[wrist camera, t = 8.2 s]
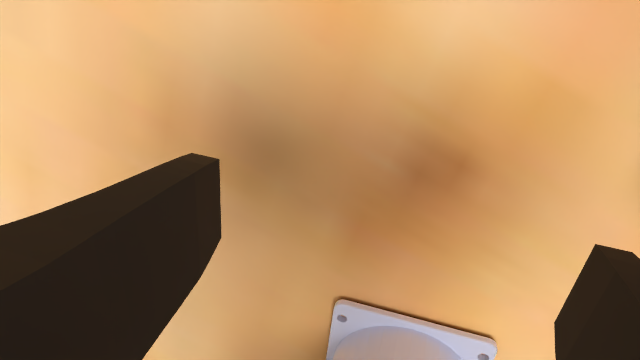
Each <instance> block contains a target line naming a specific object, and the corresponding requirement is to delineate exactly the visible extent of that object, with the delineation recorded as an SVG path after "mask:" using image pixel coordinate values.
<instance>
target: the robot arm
mask: <svg viewBox="0 0 640 360" xmlns="http://www.w3.org/2000/svg"><path fill="white" fill-rule="evenodd" d="M220 239H221V207H220V169H219V159H216V158H212V157H207V156H203V155H198V154H194V153H191V154H187V155H184V156H181V157H179V158H176V159H174V160H171V161H168V162H166V163H164V164H161V165H159V166H156V167H154V168H152V169H149V170H147V171H145V172H142V173H140V174H138V175H135V176H133V177H130V178H128V179H126V180H123V181H121V182H118V183H116V184H114V185H111V186H109V187H107V188H104V189H102V190H99V191H97V192H94V193H92V194H89V195H86V196H84V197H81V198H78V199H76V200H73V201H70V202H68V203H65V204H63V205H60V206H57V207H55V208H52V209H49V210H47V211H44V212H41V213H38V214H35V215H32V216H30V217H27V218H23V219H20V220H17V221H14V222H11V223H8V224H5V225H1V226H0V360H142V359H143V358H144V356H145V355H146V353H147V352H148V351H149V349H150V348H151V346H152V345H153V344H154V342H155V341H156V339H157V338H158V337H159V335H160V334H161V332H162V331H163V330H164V328H165V327H166V325H167V324H168V323H169V321H170V320H171V319H172V317H173V316H174V314H175V313H176V312H177V310H178V309H179V307H180V306H181V305H182V303H183V302H184V300H185V299H186V297H187V296H188V295H189V293H190V292H191V290H192V289H193V287H194V286H195V285H196V283H197V282H198V280H199V279H200V277H201V275H202V274H203V272H204V270H205V268H206V266H207V264H208V263H209V261H210V259H211V257H212V255H213V253H214V251H215V249H216V247H217V245H218V243H219V241H220ZM341 315H344V316H345V317H343V316H341ZM554 324H555V355H556V360H640V259H639V258H638V257H637V256H636V255H635V254H634V253H633V252H628V251H624V250H619V249H615V248H611V247H606V246H602V245H597V244H595V246H594V248H593V250H592V252H591V254H590V255H589V257H588V259H587V261H586V263H585V265H584V267H583V269H582V271H581V273H580V275H579V277H578V278H577V280H576V282H575V284H574V286H573V288H572V290H571V292H570V294H569V296H568V298H567V299H566V301H565V303H564V305H563V307H562V309H561V311H560V313H559V315H558V317H557V319H556V321H555V322H554ZM483 354H485V355H483ZM496 354H497V344H496V342H495V341H494V340H492V339H490V338H487V337H483V336H479V335H476V334H472V333H468V332H464V331H461V330H457V329H453V328H449V327H446V326H442V325H438V324H434V323H431V322H427V321H423V320H419V319H416V318H412V317H408V316H405V315H401V314H397V313H393V312H390V311H386V310H382V309H378V308H375V307H371V306H367V305H363V304H360V303H356V302H352V301H348V300H343V299H342V300H338V301H337V302H336V303H335V306H334V310H333V316H332V323H331V329H330V336H329V342H328V349H327V356H326V360H494V358H495V356H496Z"/></svg>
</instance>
